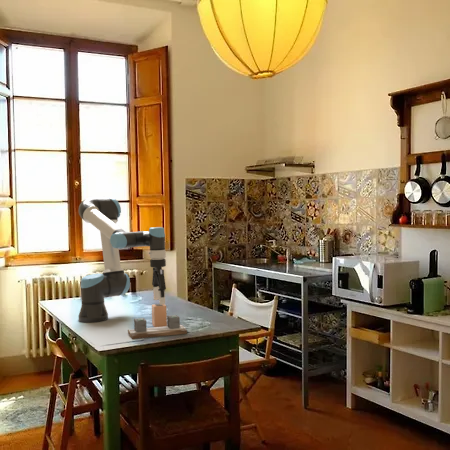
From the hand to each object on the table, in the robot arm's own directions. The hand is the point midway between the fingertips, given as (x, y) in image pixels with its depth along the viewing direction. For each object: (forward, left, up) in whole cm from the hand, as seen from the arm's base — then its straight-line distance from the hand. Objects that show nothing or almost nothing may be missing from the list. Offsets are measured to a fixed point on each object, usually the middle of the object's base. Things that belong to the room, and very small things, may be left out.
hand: (159, 301), depth 260 cm
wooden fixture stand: (+16, -5, -12) cm, 20 cm away
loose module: (0, 0, -12) cm, 12 cm away
